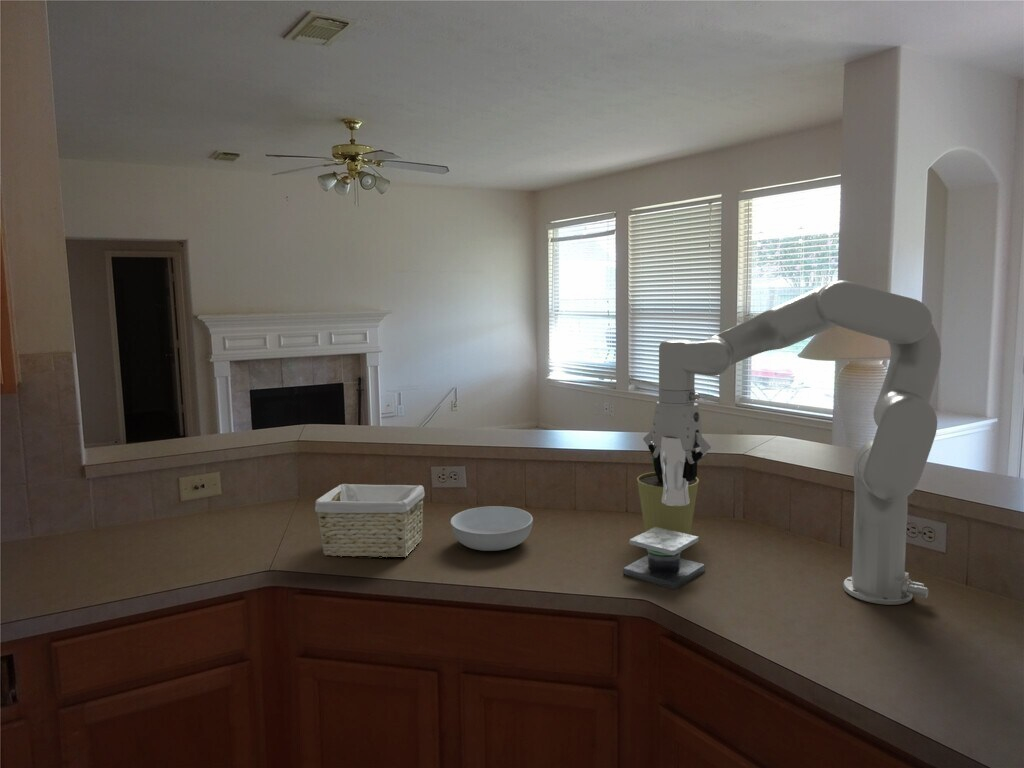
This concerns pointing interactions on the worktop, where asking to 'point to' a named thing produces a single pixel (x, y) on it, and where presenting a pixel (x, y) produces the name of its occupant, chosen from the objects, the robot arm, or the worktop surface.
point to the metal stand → (664, 558)
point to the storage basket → (371, 519)
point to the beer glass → (673, 472)
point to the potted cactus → (660, 512)
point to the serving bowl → (491, 527)
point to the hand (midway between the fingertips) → (675, 476)
